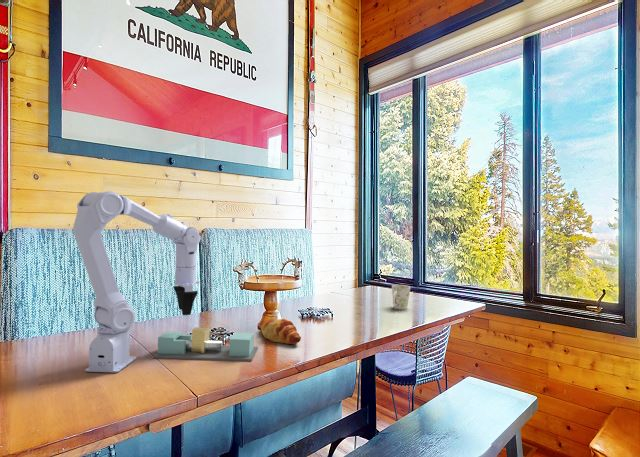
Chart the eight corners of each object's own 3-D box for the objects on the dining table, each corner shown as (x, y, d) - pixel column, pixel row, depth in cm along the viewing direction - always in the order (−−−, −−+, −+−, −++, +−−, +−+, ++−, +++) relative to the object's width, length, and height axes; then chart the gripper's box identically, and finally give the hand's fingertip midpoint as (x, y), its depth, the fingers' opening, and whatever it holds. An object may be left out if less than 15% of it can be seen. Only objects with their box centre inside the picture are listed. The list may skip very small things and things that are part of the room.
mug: (412, 307, 171) (412, 286, 171) (402, 313, 160) (403, 289, 160) (394, 305, 175) (395, 284, 175) (384, 310, 164) (385, 287, 164)
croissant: (255, 341, 127) (246, 323, 125) (277, 324, 133) (269, 305, 130) (292, 359, 111) (282, 337, 108) (315, 337, 117) (306, 317, 114)
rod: (162, 351, 103) (162, 330, 103) (169, 346, 107) (169, 325, 107) (219, 353, 103) (219, 332, 103) (223, 348, 107) (224, 327, 107)
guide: (153, 358, 100) (153, 339, 100) (168, 345, 110) (169, 328, 110) (251, 361, 100) (251, 342, 100) (257, 348, 110) (258, 331, 110)
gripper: (204, 269, 107) (202, 316, 107) (195, 263, 119) (194, 305, 120) (177, 270, 103) (176, 318, 103) (172, 264, 116) (171, 307, 116)
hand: (184, 311), depth 111 cm, fingers open, 7 cm apart
